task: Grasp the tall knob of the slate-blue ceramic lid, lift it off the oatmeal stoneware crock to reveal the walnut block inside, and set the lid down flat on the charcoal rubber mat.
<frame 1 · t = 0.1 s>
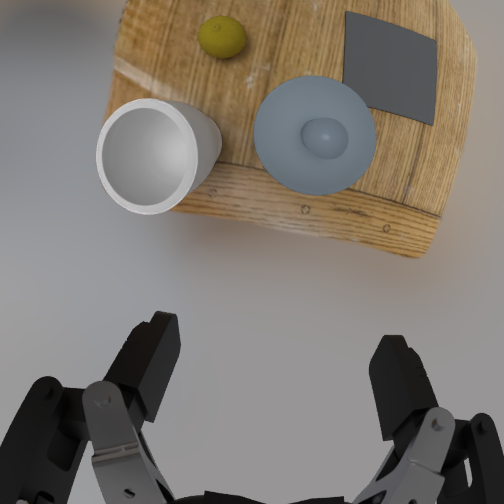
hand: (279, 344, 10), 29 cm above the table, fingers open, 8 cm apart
jar: (192, 142, 35), on the table
mat: (392, 66, 26), on the table
lemon: (228, 46, 28), on the table
lid: (316, 135, 24), point 9 cm above the table, touching crock
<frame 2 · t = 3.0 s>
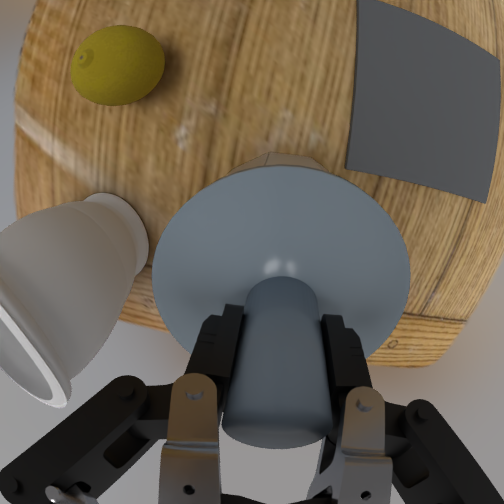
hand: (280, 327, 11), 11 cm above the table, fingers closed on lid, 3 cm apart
jar: (112, 235, 23), on the table
mat: (437, 100, 15), on the table
lemon: (148, 72, 16), on the table
lid: (281, 296, 13), point 9 cm above the table, touching crock, gripper
crock: (281, 225, 21), on the table
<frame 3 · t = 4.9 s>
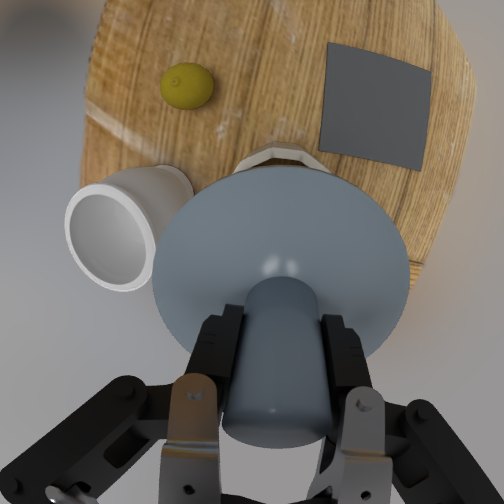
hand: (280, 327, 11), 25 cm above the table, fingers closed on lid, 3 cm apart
jar: (166, 195, 35), on the table
mat: (379, 106, 27), on the table
lemon: (198, 90, 29), on the table
lid: (281, 296, 13), point 23 cm above the table, touching gripper
crock: (281, 185, 33), on the table
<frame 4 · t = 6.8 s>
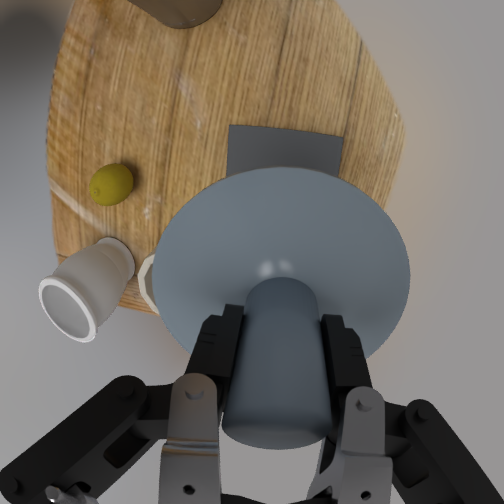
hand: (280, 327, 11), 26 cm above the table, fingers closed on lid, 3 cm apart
jar: (115, 258, 42), on the table
mat: (281, 183, 34), on the table
lemon: (127, 177, 36), on the table
lid: (281, 297, 13), point 24 cm above the table, touching gripper
crock: (197, 256, 40), on the table
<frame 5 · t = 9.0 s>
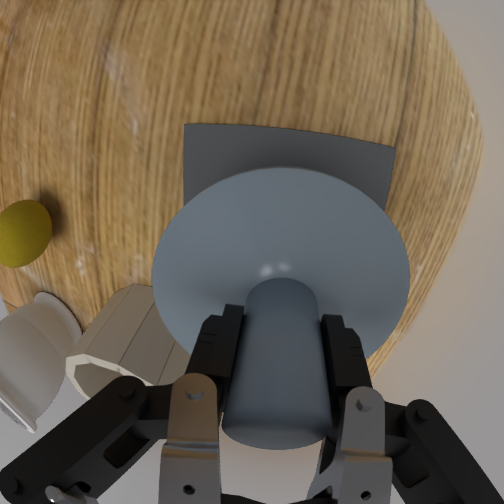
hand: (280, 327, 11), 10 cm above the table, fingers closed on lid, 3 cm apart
jar: (59, 317, 28), on the table
mat: (282, 228, 19), on the table
lemon: (49, 215, 21), on the table
lid: (281, 297, 13), point 8 cm above the table, touching gripper
crock: (156, 329, 26), on the table
when the fingers open (5 cm above the table, at t = 10.7 s): lid drops 2 cm, resting on mat.
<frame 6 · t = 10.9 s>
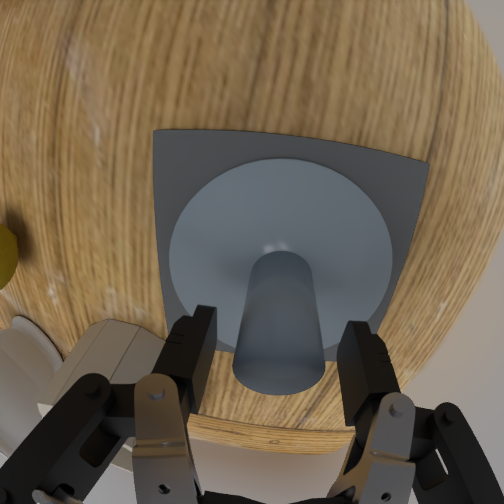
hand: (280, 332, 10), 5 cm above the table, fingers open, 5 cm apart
jar: (39, 342, 24), on the table
mat: (281, 264, 15), on the table
lemon: (17, 236, 17), on the table
lid: (281, 270, 15), point 1 cm above the table, touching mat
crock: (137, 366, 21), on the table
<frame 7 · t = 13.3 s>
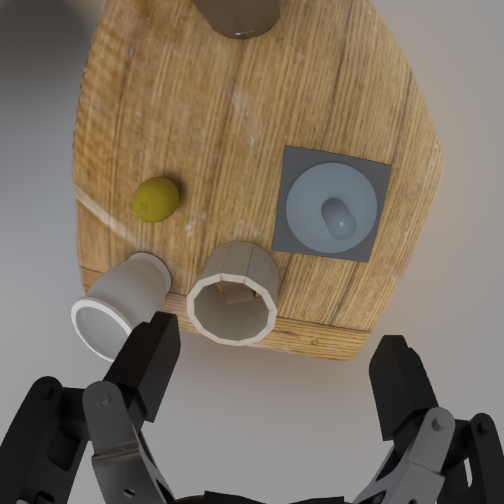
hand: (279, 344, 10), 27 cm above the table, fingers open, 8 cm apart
jar: (148, 274, 42), on the table
mat: (331, 206, 35), on the table
lemon: (168, 191, 36), on the table
lid: (332, 208, 34), point 1 cm above the table, touching mat
walnut block: (240, 275, 41), resting in crock
crock: (240, 275, 40), on the table
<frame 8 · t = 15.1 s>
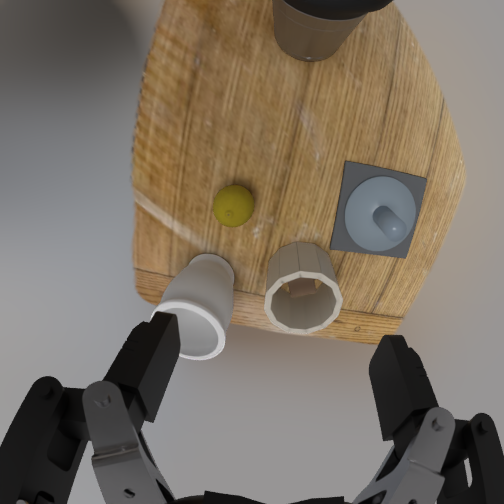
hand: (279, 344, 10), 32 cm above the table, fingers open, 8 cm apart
jar: (211, 274, 47), on the table
mat: (379, 212, 39), on the table
lemon: (238, 197, 41), on the table
lid: (380, 213, 39), point 1 cm above the table, touching mat
walnut block: (300, 271, 45), resting in crock
crock: (300, 272, 45), on the table
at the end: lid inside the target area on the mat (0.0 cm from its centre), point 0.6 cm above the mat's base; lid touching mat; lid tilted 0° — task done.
